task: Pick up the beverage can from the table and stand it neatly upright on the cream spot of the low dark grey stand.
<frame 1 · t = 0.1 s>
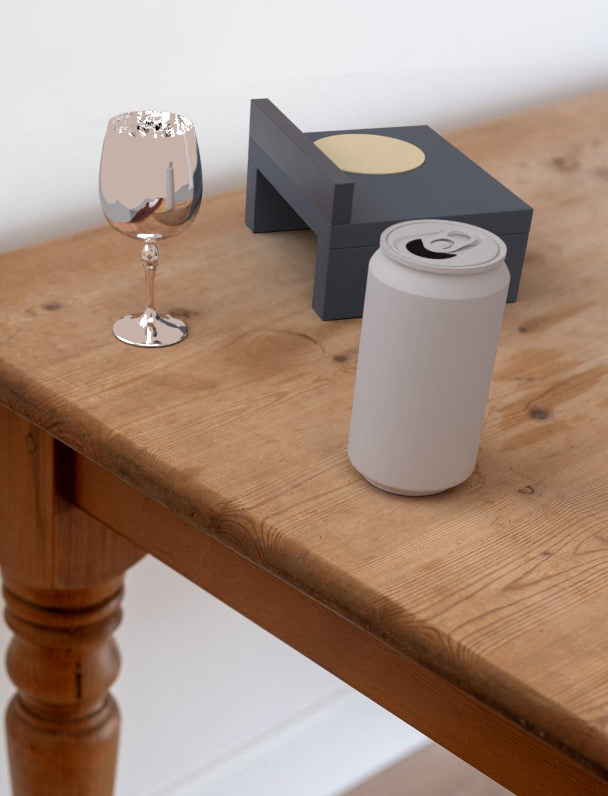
beverage can: (408, 472, 65), on the table
wineglass: (149, 333, 77), on the table
dark grey stand: (373, 260, 86), on the table
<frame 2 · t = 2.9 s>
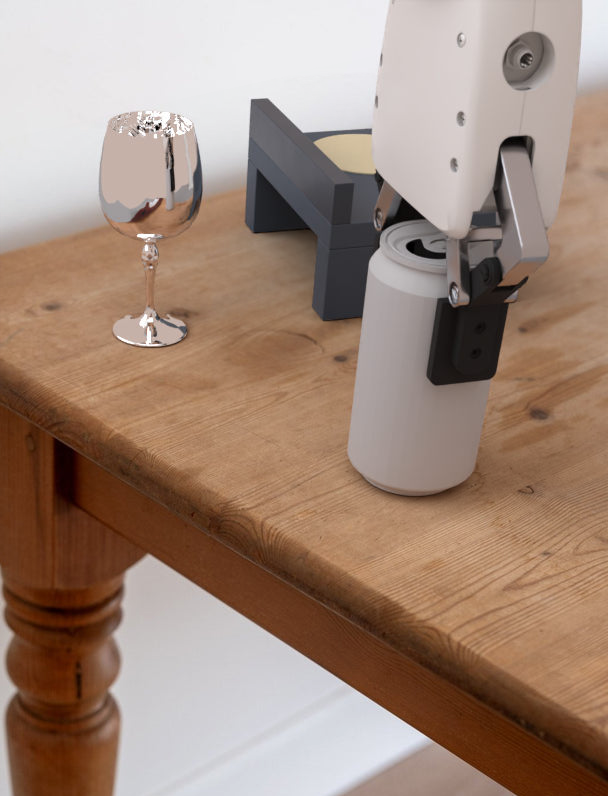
hand: (428, 341, 61), 7 cm above the table, tool pointing down, fingers closed on beverage can, 6 cm apart
beverage can: (408, 472, 65), on the table, touching gripper
everything else where it was.
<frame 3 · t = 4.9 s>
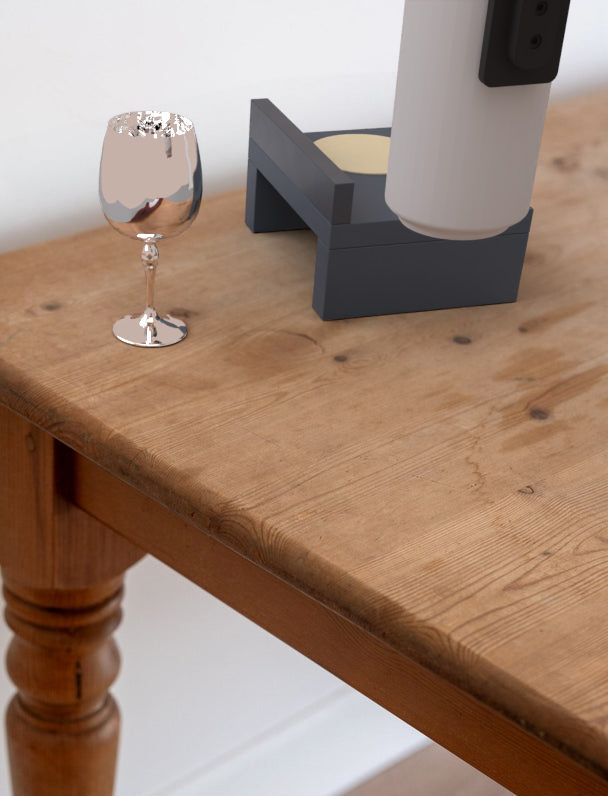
hand: (477, 53, 54), 20 cm above the table, tool pointing down, fingers closed on beverage can, 6 cm apart
beverage can: (454, 222, 58), point 13 cm above the table, touching gripper
everything else where it was.
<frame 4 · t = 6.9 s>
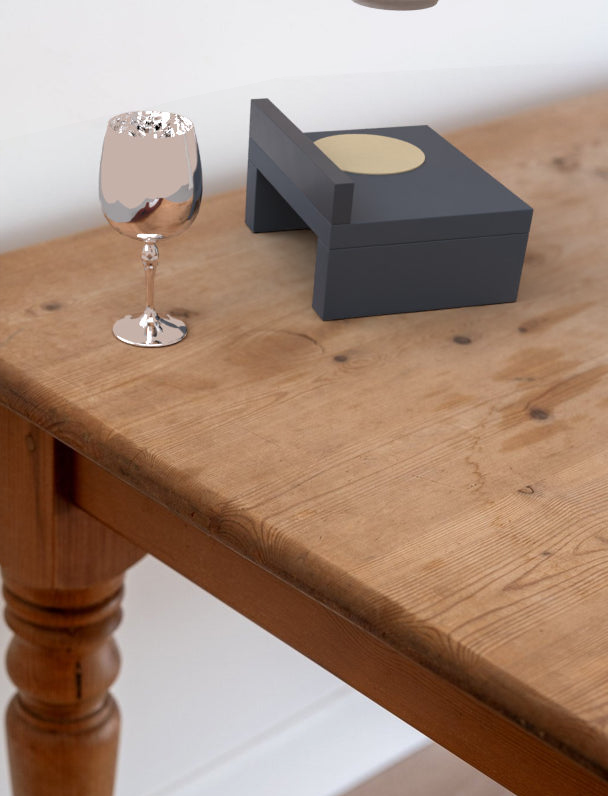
beverage can: (393, 4, 75), point 16 cm above the table, touching gripper
everything else where it was.
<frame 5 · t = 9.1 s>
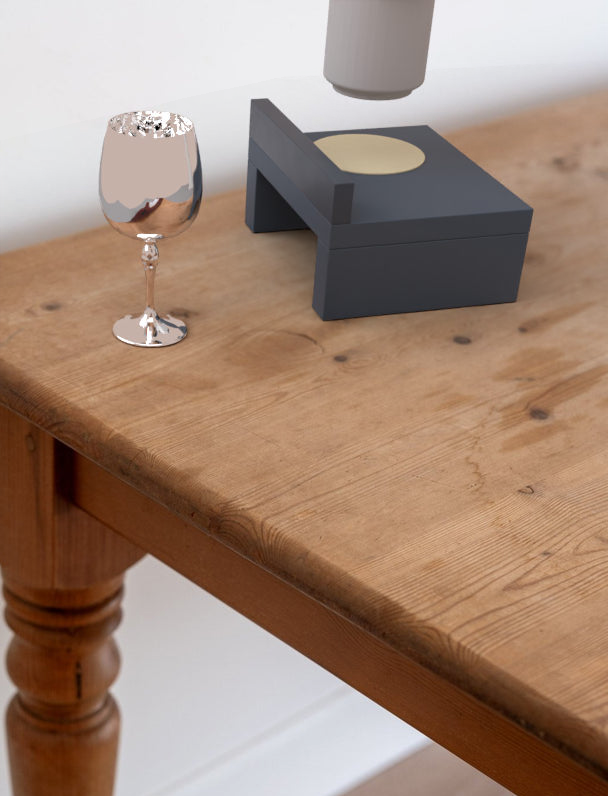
beverage can: (372, 92, 82), point 10 cm above the table, touching gripper
everything else where it was.
when the fingers open (13 cm above the table, at t = 10.8 s): beverage can stays where it is, resting on dark grey stand.
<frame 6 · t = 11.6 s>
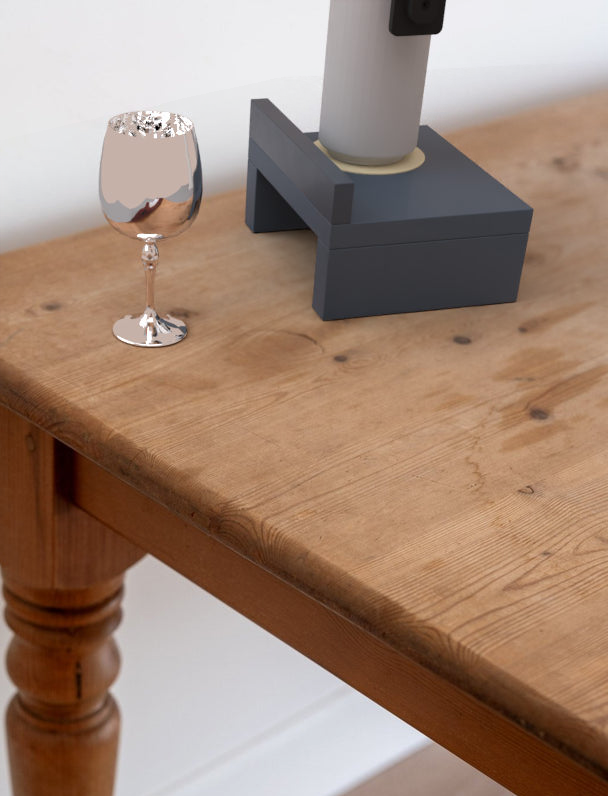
hand: (383, 13, 79), 15 cm above the table, tool pointing down, fingers open, 9 cm apart
beverage can: (366, 156, 85), point 6 cm above the table, touching dark grey stand
everything else where it was.
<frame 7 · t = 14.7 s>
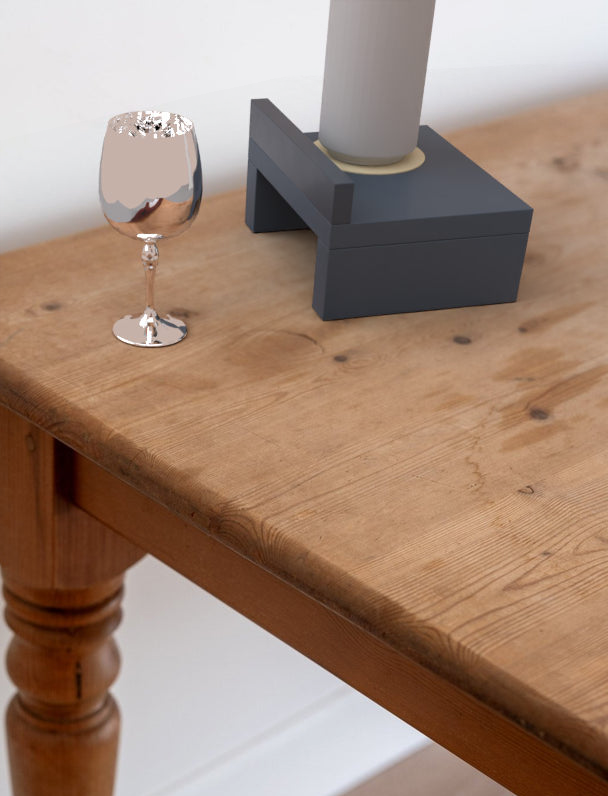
nothing on the table moved.
at the end: beverage can 0.0 cm from the target spot on the dark grey stand, point 5.9 cm above the dark grey stand's base; beverage can tilted 0°; the gripper is holding nothing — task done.
